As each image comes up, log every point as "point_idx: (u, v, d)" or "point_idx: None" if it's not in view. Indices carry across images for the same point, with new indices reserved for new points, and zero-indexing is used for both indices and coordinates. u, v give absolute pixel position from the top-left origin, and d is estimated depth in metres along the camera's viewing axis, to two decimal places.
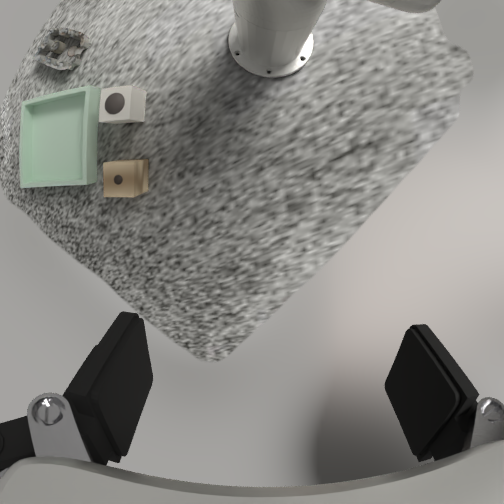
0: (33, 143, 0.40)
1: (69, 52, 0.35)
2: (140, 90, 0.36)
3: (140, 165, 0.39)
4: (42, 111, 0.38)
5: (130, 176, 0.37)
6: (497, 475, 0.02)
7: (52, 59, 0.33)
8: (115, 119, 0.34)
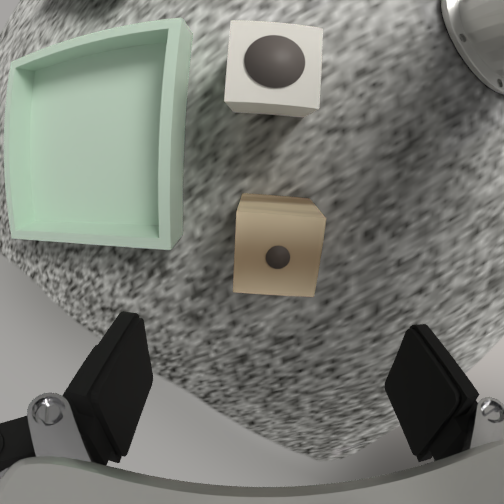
0: (32, 145, 0.19)
1: None
2: None
3: None
4: (51, 80, 0.17)
5: (310, 251, 0.17)
6: (497, 475, 0.02)
7: None
8: (277, 101, 0.14)
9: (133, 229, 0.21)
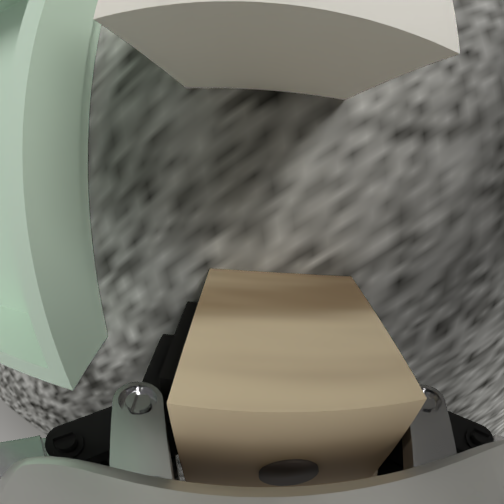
0: None
1: None
2: None
3: None
4: None
5: (369, 455, 0.05)
6: (497, 475, 0.02)
7: None
8: (309, 0, 0.03)
9: (22, 330, 0.09)
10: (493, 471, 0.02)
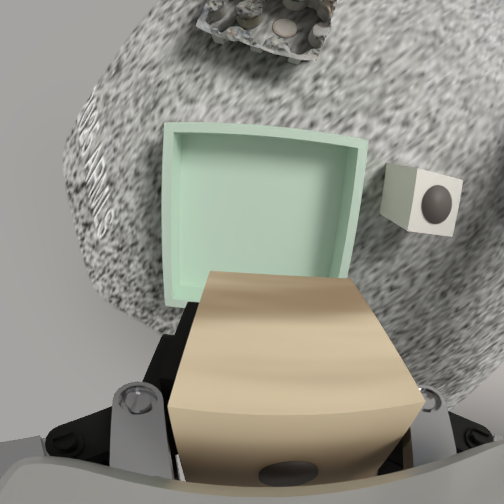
0: (183, 214, 0.26)
1: (278, 28, 0.21)
2: None
3: None
4: (209, 151, 0.24)
5: (368, 457, 0.05)
6: (497, 475, 0.02)
7: None
8: (433, 232, 0.21)
9: None
10: (493, 471, 0.02)
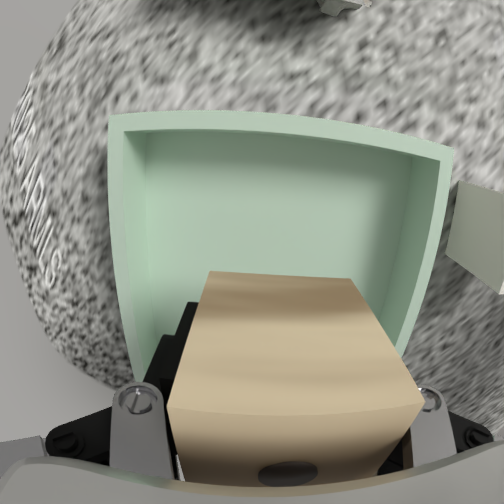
0: (154, 262, 0.16)
1: None
2: None
3: None
4: (191, 162, 0.14)
5: (368, 457, 0.05)
6: (497, 475, 0.02)
7: None
8: None
9: None
10: (493, 471, 0.02)
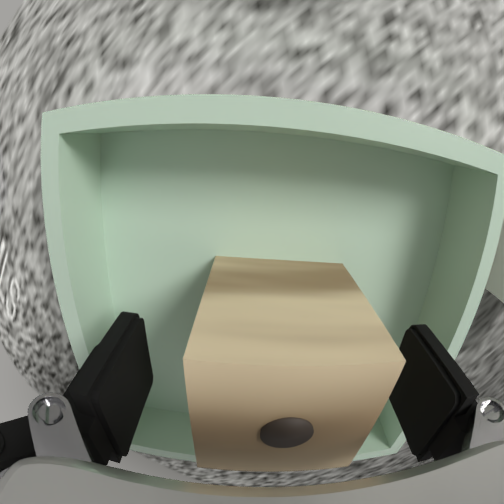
0: (119, 302, 0.12)
1: None
2: None
3: None
4: (159, 171, 0.10)
5: (358, 418, 0.06)
6: (497, 475, 0.02)
7: None
8: None
9: None
10: (493, 471, 0.02)
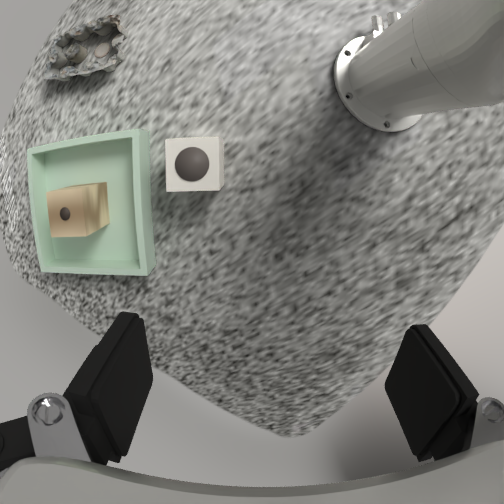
0: None
1: (97, 53, 0.26)
2: None
3: (93, 191, 0.28)
4: (58, 162, 0.30)
5: (78, 208, 0.26)
6: (497, 475, 0.02)
7: (75, 68, 0.25)
8: (195, 189, 0.27)
9: (124, 263, 0.33)
10: (493, 471, 0.02)
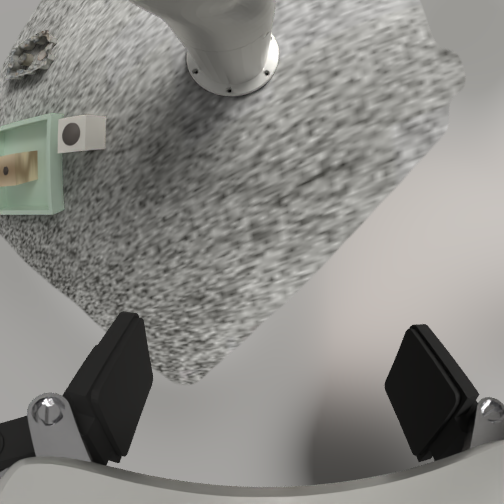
0: None
1: (39, 57, 0.32)
2: (98, 117, 0.34)
3: (24, 156, 0.34)
4: (12, 138, 0.36)
5: (12, 166, 0.32)
6: (497, 475, 0.02)
7: (24, 70, 0.31)
8: (72, 150, 0.33)
9: (43, 207, 0.39)
10: (493, 471, 0.02)
